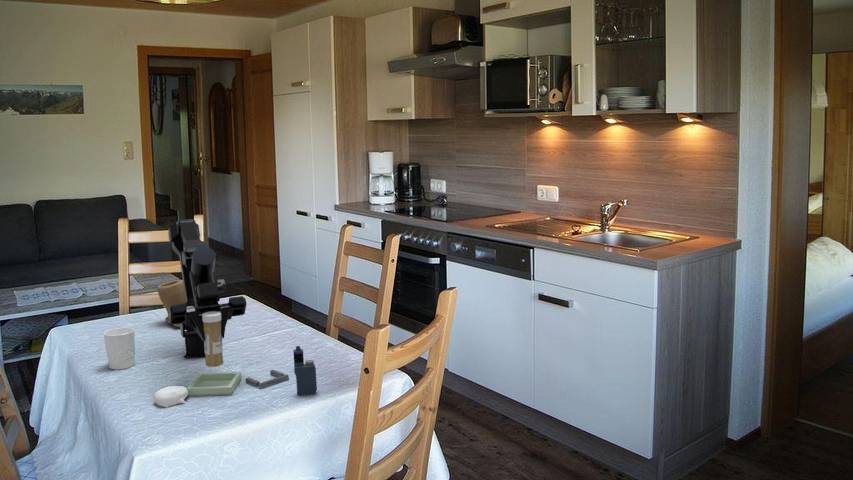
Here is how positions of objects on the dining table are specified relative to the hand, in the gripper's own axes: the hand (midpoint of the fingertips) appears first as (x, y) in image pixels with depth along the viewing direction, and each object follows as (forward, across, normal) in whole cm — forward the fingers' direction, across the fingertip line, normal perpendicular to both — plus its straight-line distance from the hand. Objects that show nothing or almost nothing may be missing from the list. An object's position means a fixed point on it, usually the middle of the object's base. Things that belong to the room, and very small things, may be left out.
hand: (213, 338), depth 185 cm
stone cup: (-38, 0, +58) cm, 69 cm away
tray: (+8, 0, +10) cm, 13 cm away
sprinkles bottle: (+4, 0, +6) cm, 7 cm away
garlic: (+12, -11, +7) cm, 18 cm away
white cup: (-13, -21, +32) cm, 41 cm away
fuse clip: (+9, +12, +9) cm, 18 cm away
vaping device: (+19, +19, -1) cm, 27 cm away
